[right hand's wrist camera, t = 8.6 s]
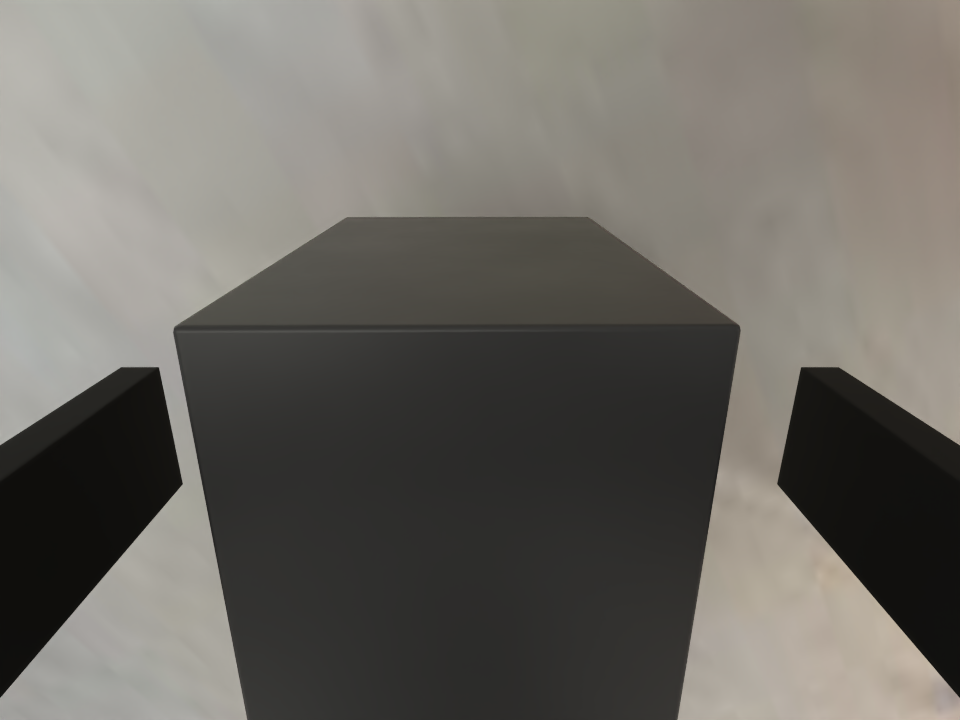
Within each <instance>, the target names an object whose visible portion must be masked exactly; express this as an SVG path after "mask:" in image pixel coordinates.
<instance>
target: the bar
mask: <svg viewBox="0 0 960 720" xmlns="http://www.w3.org/2000/svg"><path fill="white" fill-rule="evenodd" d="M173 333H174V339H175V344H176V349H177V354H178V359H179V365H180V370H181V375H182V380H183V386H184V391H185V396H186V401H187V406H188V412H189V417H190V422H191V427H192V433H193V438H194V443H195V448H196V453H197V459H198V464H199V469H200V474H201V480H202V485H203V490H204V495H205V500H206V506H207V511H208V516H209V521H210V527H211V532H212V537H213V542H214V547H215V553H216V558H217V563H218V568H219V574H220V579H221V584H222V589H223V594H224V600H225V605H226V610H227V615H228V621H229V626H230V631H231V636H232V641H233V647H234V652H235V657H236V662H237V668H238V673H239V678H240V683H241V688H242V694H243V699H244V704H245V709H246V715H247V720H677V719H678V713H679V706H680V700H681V694H682V688H683V682H684V676H685V670H686V663H687V657H688V651H689V645H690V639H691V633H692V626H693V620H694V614H695V608H696V602H697V596H698V589H699V583H700V577H701V571H702V565H703V559H704V552H705V546H706V540H707V534H708V528H709V522H710V515H711V509H712V503H713V497H714V491H715V485H716V479H717V472H718V466H719V460H720V454H721V448H722V442H723V435H724V429H725V423H726V417H727V411H728V405H729V398H730V392H731V386H732V380H733V374H734V368H735V361H736V355H737V349H738V343H739V337H740V326H739V325H738V324H737V323H735V322H734V321H732V320H731V319H730V318H728V317H727V316H725V315H724V314H723V313H721V312H720V311H719V310H717V309H716V308H714V307H713V306H712V305H710V304H709V303H707V302H706V301H705V300H703V299H702V298H700V297H699V296H698V295H696V294H695V293H693V292H692V291H691V290H689V289H688V288H686V287H685V286H684V285H682V284H681V283H679V282H678V281H677V280H675V279H674V278H672V277H671V276H670V275H668V274H667V273H665V272H664V271H663V270H661V269H660V268H659V267H657V266H656V265H654V264H653V263H652V262H650V261H649V260H647V259H646V258H645V257H643V256H642V255H640V254H639V253H638V252H636V251H635V250H633V249H632V248H631V247H629V246H628V245H626V244H625V243H624V242H622V241H621V240H619V239H618V238H617V237H615V236H614V235H612V234H611V233H610V232H608V231H607V230H606V229H604V228H603V227H601V226H600V225H599V224H597V223H596V222H594V221H593V220H592V219H590V218H588V217H347V218H345V219H344V220H342V221H340V222H339V223H337V224H336V225H334V226H333V227H331V228H329V229H328V230H326V231H325V232H323V233H321V234H320V235H318V236H317V237H315V238H314V239H312V240H310V241H309V242H307V243H306V244H304V245H303V246H301V247H299V248H298V249H296V250H295V251H293V252H292V253H290V254H288V255H287V256H285V257H284V258H282V259H281V260H279V261H277V262H276V263H274V264H273V265H271V266H270V267H268V268H266V269H265V270H263V271H262V272H260V273H258V274H257V275H255V276H254V277H252V278H251V279H249V280H247V281H246V282H244V283H243V284H241V285H240V286H238V287H236V288H235V289H233V290H232V291H230V292H229V293H227V294H225V295H224V296H222V297H221V298H219V299H218V300H216V301H214V302H213V303H211V304H210V305H208V306H207V307H205V308H203V309H202V310H200V311H199V312H197V313H195V314H194V315H192V316H191V317H189V318H188V319H186V320H184V321H183V322H181V323H180V324H178V325H177V326H175V327H174V332H173Z"/></svg>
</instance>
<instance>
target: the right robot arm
mask: <svg viewBox="0 0 960 720" xmlns="http://www.w3.org/2000/svg"><path fill="white" fill-rule="evenodd" d="M182 484H183V483H182V478H181V473H180V468H179V464H178V459H177V454H176V449H175V444H174V439H173V434H172V429H171V424H170V420H169V415H168V410H167V405H166V400H165V395H164V390H163V385H162V381H161V376H160V371H159V367H121V368H120V369H118V370H116V371H115V372H113V373H112V374H110V375H109V376H107V377H106V378H104V379H102V380H101V381H99V382H98V383H96V384H95V385H93V386H92V387H90V388H89V389H87V390H85V391H84V392H82V393H81V394H79V395H78V396H76V397H75V398H73V399H71V400H70V401H68V402H67V403H65V404H64V405H62V406H61V407H59V408H58V409H56V410H54V411H53V412H51V413H50V414H48V415H47V416H45V417H44V418H42V419H40V420H39V421H37V422H36V423H34V424H33V425H31V426H30V427H28V428H27V429H25V430H23V431H22V432H20V433H19V434H17V435H16V436H14V437H13V438H11V439H9V440H8V441H6V442H5V443H3V444H2V445H0V697H1V696H2V695H3V694H4V693H5V692H6V690H7V689H8V688H9V687H10V686H11V685H12V683H13V682H14V681H15V680H16V679H17V678H18V676H19V675H20V674H21V673H22V672H23V671H24V669H25V668H26V667H27V666H28V665H29V663H30V662H31V661H32V660H33V659H34V658H35V656H36V655H37V654H38V653H39V652H40V651H41V649H42V648H43V647H44V646H45V645H46V644H47V642H48V641H49V640H50V639H51V638H52V637H53V635H54V634H55V633H56V632H57V631H58V630H59V628H60V627H61V626H62V625H63V624H64V622H65V621H66V620H67V619H68V618H69V617H70V615H71V614H72V613H73V612H74V611H75V610H76V608H77V607H78V606H79V605H80V604H81V603H82V601H83V600H84V599H85V598H86V597H87V596H88V594H89V593H90V592H91V591H92V590H93V589H94V587H95V586H96V585H97V584H98V583H99V582H100V580H101V579H102V578H103V577H104V576H105V574H106V573H107V572H108V571H109V570H110V569H111V567H112V566H113V565H114V564H115V563H116V562H117V560H118V559H119V558H120V557H121V556H122V555H123V553H124V552H125V551H126V550H127V549H128V548H129V546H130V545H131V544H132V543H133V542H134V541H135V539H136V538H137V537H138V536H139V535H140V534H141V532H142V531H143V530H144V529H145V528H146V526H147V525H148V524H149V523H150V522H151V521H152V519H153V518H154V517H155V516H156V515H157V514H158V512H159V511H160V510H161V509H162V508H163V507H164V505H165V504H166V503H167V502H168V501H169V500H170V498H171V497H172V496H173V495H174V494H175V493H176V491H177V490H178V489H179V488H180V487H181V485H182ZM777 484H778V485H779V487H780V488H781V489H782V490H783V491H784V493H785V494H786V495H787V496H788V497H789V498H790V500H791V501H792V502H793V503H794V504H795V505H796V507H797V508H798V509H799V510H800V511H801V512H802V514H803V515H804V516H805V517H806V518H807V519H808V521H809V522H810V523H811V524H812V525H813V526H814V528H815V529H816V530H817V531H818V532H819V533H820V535H821V536H822V537H823V538H824V539H825V541H826V542H827V543H828V544H829V545H830V546H831V548H832V549H833V550H834V551H835V552H836V553H837V555H838V556H839V557H840V558H841V559H842V560H843V562H844V563H845V564H846V565H847V566H848V567H849V569H850V570H851V571H852V572H853V573H854V574H855V576H856V577H857V578H858V579H859V580H860V582H861V583H862V584H863V585H864V586H865V587H866V589H867V590H868V591H869V592H870V593H871V594H872V596H873V597H874V598H875V599H876V600H877V601H878V603H879V604H880V605H881V606H882V607H883V608H884V610H885V611H886V612H887V613H888V614H889V615H890V617H891V618H892V619H893V620H894V621H895V622H896V624H897V625H898V626H899V627H900V628H901V630H902V631H903V632H904V633H905V634H906V635H907V637H908V638H909V639H910V640H911V641H912V642H913V644H914V645H915V646H916V647H917V648H918V649H919V651H920V652H921V653H922V654H923V655H924V656H925V658H926V659H927V660H928V661H929V662H930V663H931V665H932V666H933V667H934V668H935V669H936V671H937V672H938V673H939V674H940V675H941V676H942V678H943V679H944V680H945V681H946V682H947V683H948V685H949V686H950V687H951V688H952V689H953V690H954V692H955V693H956V694H957V695H958V696H959V697H960V445H958V444H957V443H955V442H954V441H952V440H951V439H949V438H947V437H946V436H944V435H943V434H941V433H940V432H938V431H937V430H935V429H934V428H932V427H930V426H929V425H927V424H926V423H924V422H923V421H921V420H920V419H918V418H916V417H915V416H913V415H912V414H910V413H909V412H907V411H906V410H904V409H902V408H901V407H899V406H898V405H896V404H895V403H893V402H892V401H890V400H889V399H887V398H885V397H884V396H882V395H881V394H879V393H878V392H876V391H875V390H873V389H871V388H870V387H868V386H867V385H865V384H864V383H862V382H861V381H859V380H858V379H856V378H854V377H853V376H851V375H850V374H848V373H847V372H845V371H844V370H842V369H840V368H839V367H801V371H800V376H799V381H798V385H797V390H796V395H795V400H794V405H793V410H792V415H791V420H790V425H789V429H788V434H787V439H786V444H785V449H784V454H783V459H782V464H781V468H780V473H779V478H778V483H777Z"/></svg>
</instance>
